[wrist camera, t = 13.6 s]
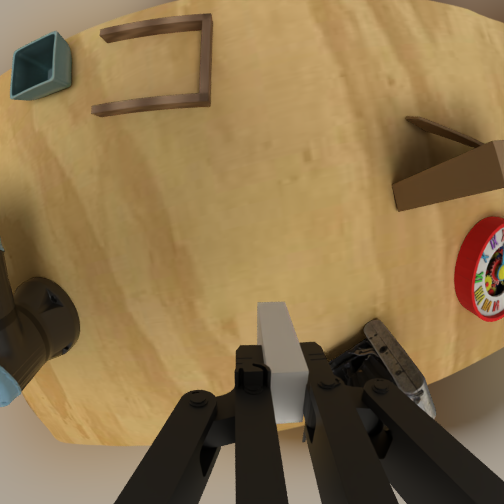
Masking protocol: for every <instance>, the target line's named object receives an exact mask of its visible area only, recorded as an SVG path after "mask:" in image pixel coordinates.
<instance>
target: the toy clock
mask: <svg viewBox="0 0 504 504" xmlns="http://www.w3.org/2000/svg"><path fill="white" fill-rule="evenodd" d="M454 284H455V291H456V295H457V298H458V300H459V302H460V303H461V304H462V306H463V307H465V308H466V309H467V310H469V311H470V312H472V313H473V314H475V315H476V316H478V317H479V318H481V319H482V320H484V321H487V322H493V321H497V320H499V319H501V318H503V317H504V219H503V218H499V217H492V216H491V217H487V218H485V219H483V220H481V221H480V222H478V223H477V224H476V225H475V226H474V227H473V228H472V229H471V230H470V232H469V233H468V235H467V236H466V238H465V240H464V242H463V244H462V246H461V248H460V251H459V254H458V257H457V261H456V266H455V274H454Z"/></svg>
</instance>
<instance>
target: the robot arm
mask: <svg viewBox="0 0 504 504" xmlns="http://www.w3.org/2000/svg"><path fill="white" fill-rule="evenodd" d="M3 252H4V248H3V247H2V243H1V238H0V407H4V406H7V405H9V404H10V403H11V402H12V401H13V400H14V399H15V398H16V397H17V396H19V395H20V394H21V392H22V390H23V389H24V388H25V387H26V385H27V384H28V383H29V382H30V381H31V379H32V378H33V377H34V376H35V374H36V373H37V372H38V371H39V370H40V368H41V367H42V366H43V365H44V364H45V363H46V362H47V361H48V360H51V359H53V358H56V357H58V356H61V355H63V354H65V353H67V352H68V351H69V350H70V349H71V348H72V347H73V346H74V344H75V343H76V342H77V340H78V337H79V332H80V324H79V318H78V314H77V311H76V309H75V307H74V305H73V303H72V301H71V300H70V298H69V297H68V295H67V294H66V293H65V292H64V291H63V290H62V289H61V288H60V287H59V286H58V285H57V284H55V283H54V282H52V281H50V280H48V279H45V278H41V277H35V278H31V279H29V280H27V281H26V282H24V283H22V284H21V285H20V286H19V287H18V288H17V289H16V291H15V293H14V295H13V294H12V290H11V286H10V282H9V277H8V273H7V268H6V263H5V258H4V253H3ZM303 414H304V417H305V427H304V433H303V442H305V440H307V444H308V448H309V452H310V456H311V460H312V464H313V469H314V472H315V477H316V481H317V485H318V490H319V494H320V498H321V502H322V504H399V503H398V501H397V499H396V496H395V494H394V492H393V490H392V488H391V485H392V486H393V488H394V489H395V490H396V491H397V492H398V494H399V495H400V496H401V497H402V498H403V499H404V501H405V502H406V503H407V504H504V481H503V480H501V479H500V478H499V477H498V476H497V475H496V474H495V473H493V471H491V470H490V469H489V468H488V467H487V466H486V465H485V464H483V463H482V462H481V461H480V460H479V459H478V458H477V457H475V456H474V455H473V454H472V453H471V452H470V451H469V450H468V449H466V448H465V447H464V446H463V445H462V444H461V443H460V442H458V441H457V440H456V439H455V438H454V437H453V436H452V435H451V434H449V433H448V432H447V431H446V430H445V429H444V428H443V427H442V426H441V425H439V424H438V423H437V422H436V421H435V420H434V419H433V418H432V417H430V416H429V415H428V414H427V413H426V412H425V411H424V410H423V409H421V408H420V407H419V406H418V405H417V404H416V403H415V402H414V401H412V400H411V399H410V398H409V397H408V396H407V395H406V394H405V393H404V392H402V391H401V390H400V389H399V388H398V387H397V386H396V385H395V384H393V383H392V382H390V381H389V380H386V379H382V378H375V379H371V380H369V381H367V382H366V383H365V385H364V388H362V387H351V386H347V385H345V384H344V382H343V381H342V379H341V378H339V377H337V376H335V375H334V374H333V372H332V370H331V367H330V365H329V363H328V361H327V359H326V356H325V354H324V352H323V350H322V348H321V346H319V345H318V344H317V343H315V342H303V343H299V341H298V338H297V335H296V332H295V330H294V327H293V324H292V321H291V318H290V315H289V312H288V310H287V307H286V304H285V302H258V306H257V345H240V347H239V348H238V349H237V350H236V369H235V387H234V389H233V390H232V391H231V392H229V393H227V394H225V395H222V396H217V397H215V395H213V394H212V393H211V392H208V391H205V390H194V391H190V392H188V393H186V394H184V395H183V396H182V397H181V399H180V400H179V402H178V404H177V405H176V407H175V408H174V410H173V412H172V413H171V415H170V416H169V418H168V420H167V421H166V423H165V424H164V426H163V428H162V429H161V431H160V432H159V434H158V435H157V437H156V439H155V440H154V442H153V443H152V445H151V447H150V448H149V450H148V451H147V453H146V454H145V456H144V458H143V459H142V461H141V462H140V464H139V465H138V467H137V469H136V470H135V472H134V473H133V475H132V477H131V478H130V479H129V481H128V483H127V484H126V486H125V487H124V489H123V490H122V492H121V494H120V495H119V496H118V498H117V500H116V501H115V503H114V504H198V503H199V501H200V498H201V496H202V494H203V491H204V489H205V486H206V484H207V482H208V479H209V477H210V474H211V472H212V469H213V467H214V464H215V462H216V459H217V457H218V454H219V452H220V449H221V446H224V445H228V444H232V443H235V469H236V470H235V472H236V473H235V474H236V504H288V497H287V491H286V485H285V478H284V472H283V465H282V459H281V453H280V446H279V440H278V433H277V426H276V424H280V423H294V422H302V420H303ZM386 426H387V427H386ZM390 484H391V485H390Z"/></svg>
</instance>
